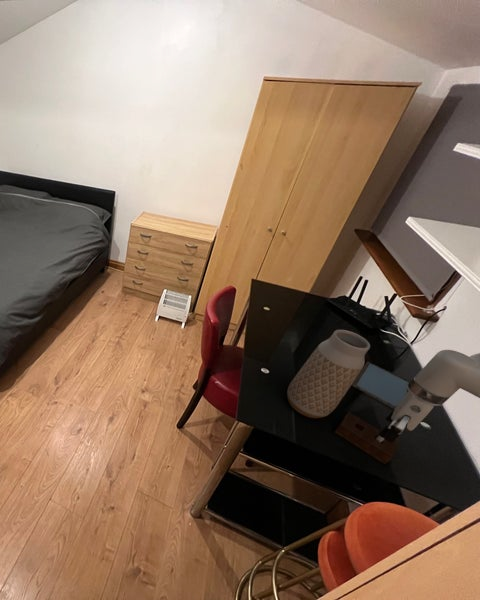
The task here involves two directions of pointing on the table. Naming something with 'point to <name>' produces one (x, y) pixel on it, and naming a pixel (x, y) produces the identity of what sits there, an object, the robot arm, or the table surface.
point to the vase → (328, 374)
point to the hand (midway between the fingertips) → (388, 430)
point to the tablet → (381, 385)
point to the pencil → (383, 438)
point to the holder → (366, 438)
